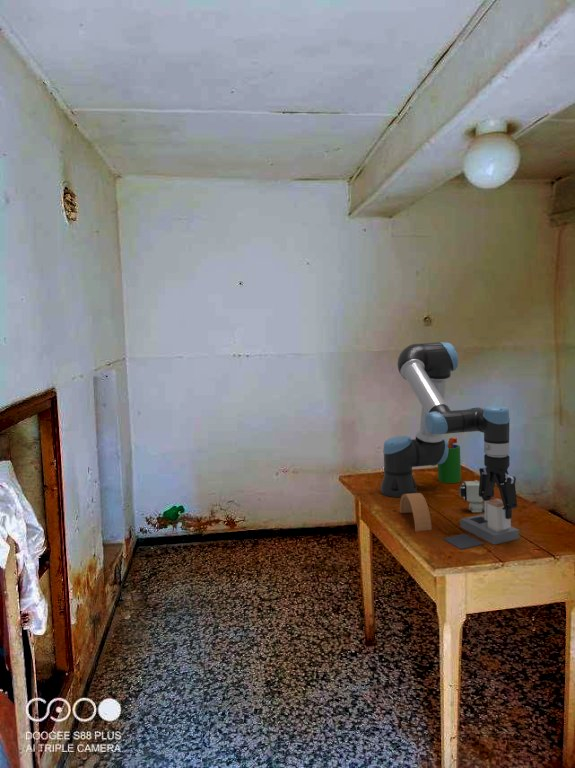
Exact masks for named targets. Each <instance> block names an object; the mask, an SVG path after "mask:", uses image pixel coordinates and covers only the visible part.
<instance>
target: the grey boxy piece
mask: <svg viewBox="0 0 575 768" xmlns="http://www.w3.org/2000/svg"><path fill="white" fill-rule="evenodd" d="M459 520H460V521H459V523H460V528H461V529H463V530H465V531H467V532H469V533H471V534H473V535H474V536H476V537H478V538H480V539H482V540H484V541H486V542H488V543H490V544H492V545H500V544H503V543H507V542H511V541H516V540H519V539H520V529H518V528H516V527H514V526H512V525H511V527H510V528H507V530H505V531H500V532H495V531H493V530H491V529H489V528H488V520H487V521H486V520H485V513H481V514H477V515H471V516H467V517H463V518H460V519H459Z"/></svg>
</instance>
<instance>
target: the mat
mask: <svg viewBox="0 0 575 768" xmlns="http://www.w3.org/2000/svg"><path fill="white" fill-rule="evenodd" d="M442 540H444V541H445V542H446V543H448V544H450V545H451V546H453V547H455V548H457V549H458V550H467V549H470V548H474V547H479V546H484V545H485V543H484V542H482V541H480V540H479V539H477V538H475V537H474V536H471V535H469V534H468V533H466V532H464V533H461V534H455V535H451V536H447V537H446V536H445V537H442Z"/></svg>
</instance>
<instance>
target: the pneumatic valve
mask: <svg viewBox="0 0 575 768" xmlns="http://www.w3.org/2000/svg"><path fill="white" fill-rule="evenodd" d="M478 480H479V479H478ZM478 480H477V479H474V480H473V481H470V480H469V481H467V480H466V481H465V480H463V481H462V483H461V484H462V485H461V484H460V485H459V486H458V492H459V498H463V500H464V502H469V504H468V510H469V511H471V513H473V514H475V513H477V514H478V513H481V514H482V513H484V512H483V511H485V509H484V503H482V502H484V500H483V499H482V497H479V482H480V480H479V481H478ZM494 489H495V488H494ZM494 489H493V492H492V495H491V497H492V498H494V497H495V490H494ZM482 493H483V492H482ZM489 500H491V499H489Z"/></svg>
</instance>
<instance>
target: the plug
mask: <svg viewBox="0 0 575 768" xmlns="http://www.w3.org/2000/svg"><path fill="white" fill-rule="evenodd" d="M502 508H504V505H503V502H502V499H500V498H492V499H490V500H487V517H488V528H489V529H491V530H493V531H495V532H500V531H505V530H507V528H506V529H503V528H502Z"/></svg>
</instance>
